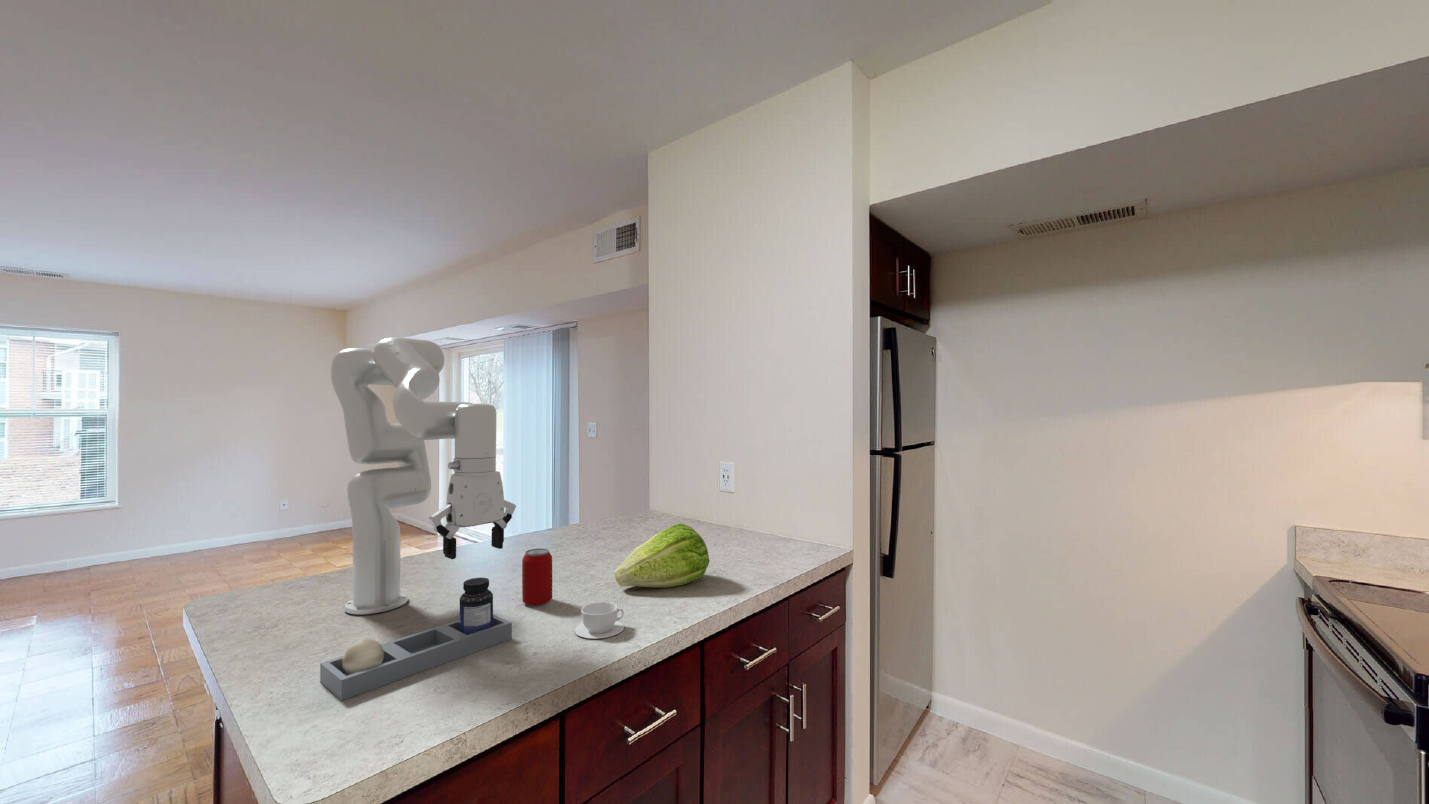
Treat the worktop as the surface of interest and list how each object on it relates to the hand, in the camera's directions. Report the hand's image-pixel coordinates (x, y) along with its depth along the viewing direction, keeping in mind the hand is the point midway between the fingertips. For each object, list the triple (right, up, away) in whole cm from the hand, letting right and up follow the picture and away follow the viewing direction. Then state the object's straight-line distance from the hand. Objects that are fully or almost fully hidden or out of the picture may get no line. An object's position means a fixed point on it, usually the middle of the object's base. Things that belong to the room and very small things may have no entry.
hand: (474, 552), depth 111 cm
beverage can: (+6, -18, +21) cm, 28 cm away
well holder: (-6, -17, -8) cm, 20 cm away
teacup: (+24, -18, +4) cm, 30 cm away
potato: (-12, -14, -16) cm, 24 cm away
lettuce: (+34, -18, +34) cm, 51 cm away
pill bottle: (+1, -17, 0) cm, 17 cm away
